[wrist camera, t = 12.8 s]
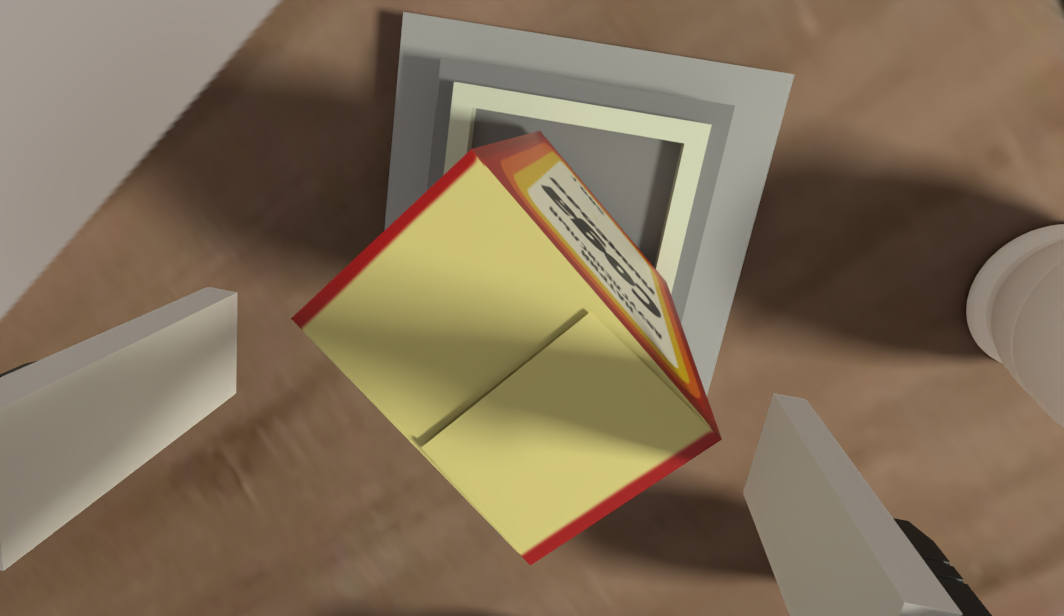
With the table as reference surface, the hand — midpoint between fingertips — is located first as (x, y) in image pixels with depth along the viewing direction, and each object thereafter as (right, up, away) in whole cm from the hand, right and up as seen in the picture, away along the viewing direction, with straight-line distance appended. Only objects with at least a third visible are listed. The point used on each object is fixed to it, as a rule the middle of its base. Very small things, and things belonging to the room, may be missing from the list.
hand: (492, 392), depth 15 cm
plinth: (+3, +7, +21) cm, 23 cm away
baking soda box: (+2, +5, +16) cm, 17 cm away
